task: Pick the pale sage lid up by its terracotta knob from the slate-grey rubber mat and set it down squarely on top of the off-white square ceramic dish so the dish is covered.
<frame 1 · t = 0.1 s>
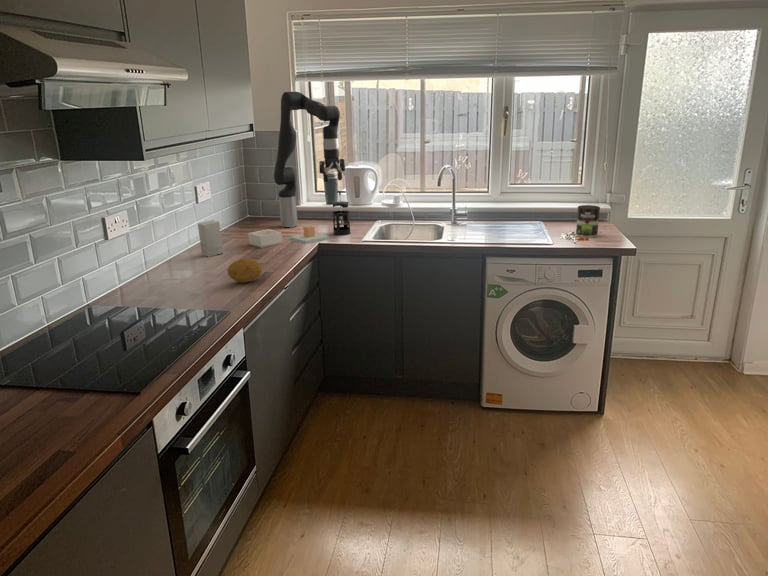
hand: (333, 181, 289), 29 cm above the worktop, tool pointing down, fingers open, 8 cm apart
skincare box: (212, 255, 272), on the worktop
french press: (342, 234, 305), on the worktop
coffee can: (586, 235, 285), on the worktop
mat: (309, 239, 296), on the worktop
lid: (309, 238, 295), resting on mat
potato: (246, 282, 227), on the worktop
dish: (265, 244, 288), on the worktop
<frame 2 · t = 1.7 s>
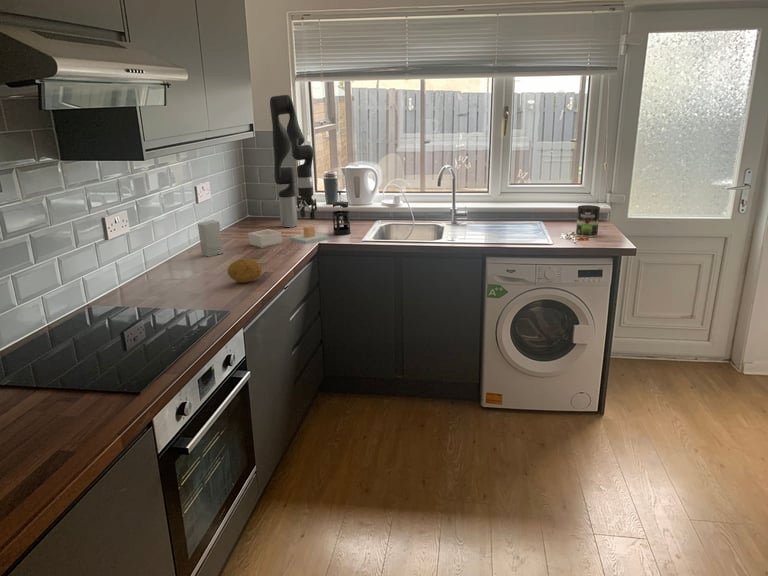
hand: (307, 218, 292), 11 cm above the worktop, tool pointing down, fingers open, 8 cm apart
nothing on the worktop moved.
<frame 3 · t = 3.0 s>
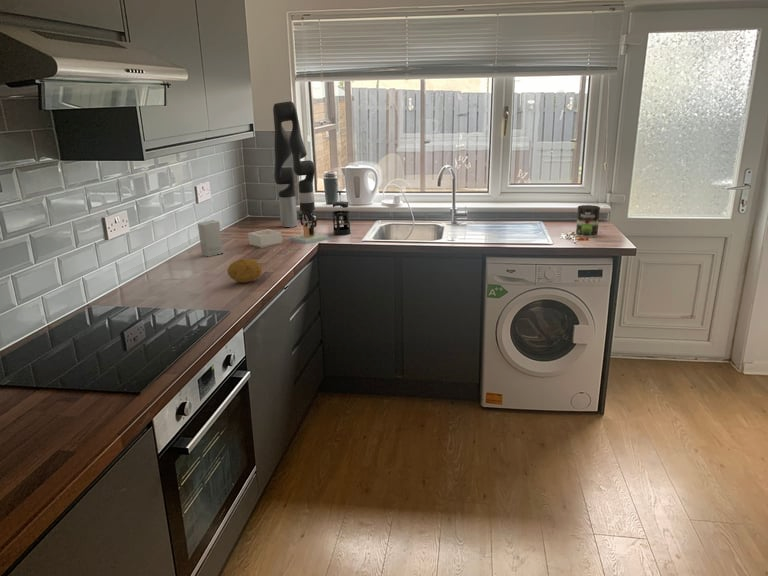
hand: (309, 234, 295), 3 cm above the worktop, tool pointing down, fingers closed on lid, 4 cm apart
lid: (309, 238, 295), point 1 cm above the worktop, touching gripper, mat
everything else where it was.
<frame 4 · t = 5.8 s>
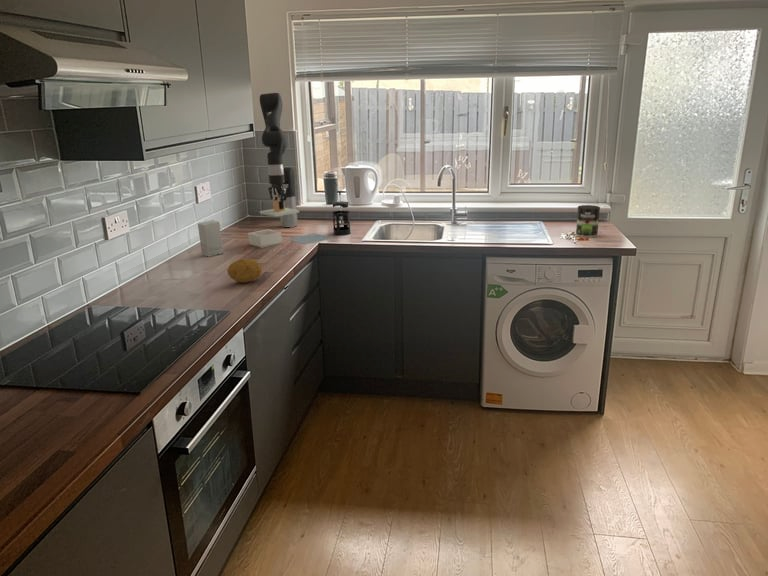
hand: (279, 208, 285), 17 cm above the worktop, tool pointing down, fingers closed on lid, 4 cm apart
lid: (279, 213, 286), point 15 cm above the worktop, touching gripper
everything else where it was.
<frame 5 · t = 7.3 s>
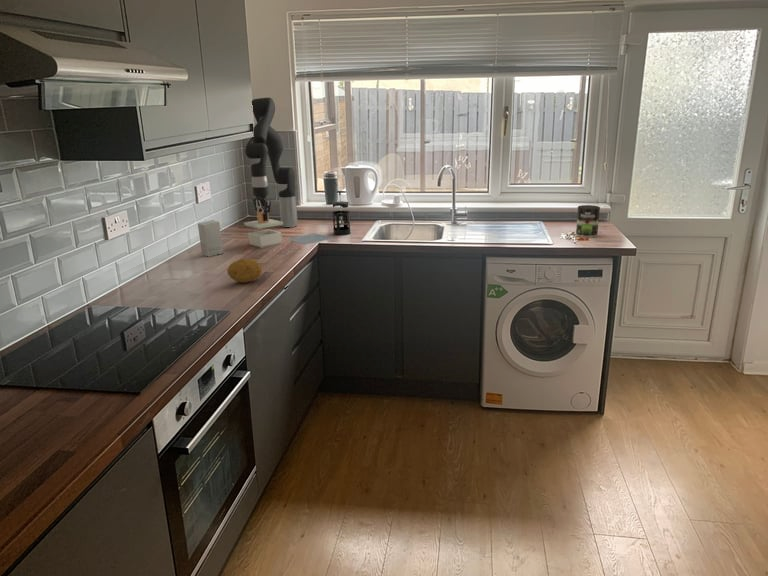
hand: (263, 220, 285), 12 cm above the worktop, tool pointing down, fingers closed on lid, 4 cm apart
lid: (263, 224, 285), point 10 cm above the worktop, touching gripper
everything else where it was.
when the fingers open (10 cm above the worktop, at t = 8.4 s): lid drops 2 cm, resting on dish.
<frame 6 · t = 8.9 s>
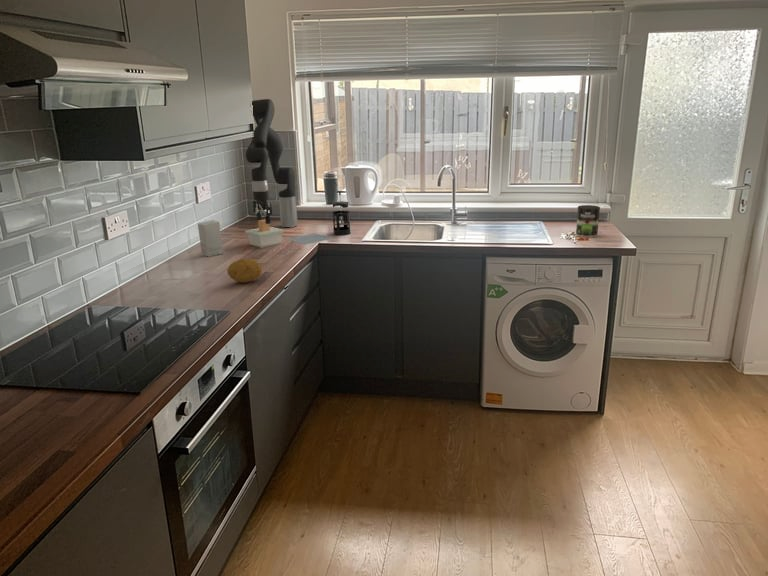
hand: (263, 222, 285), 11 cm above the worktop, tool pointing down, fingers open, 8 cm apart
lid: (264, 232, 287), point 6 cm above the worktop, touching dish
everything else where it was.
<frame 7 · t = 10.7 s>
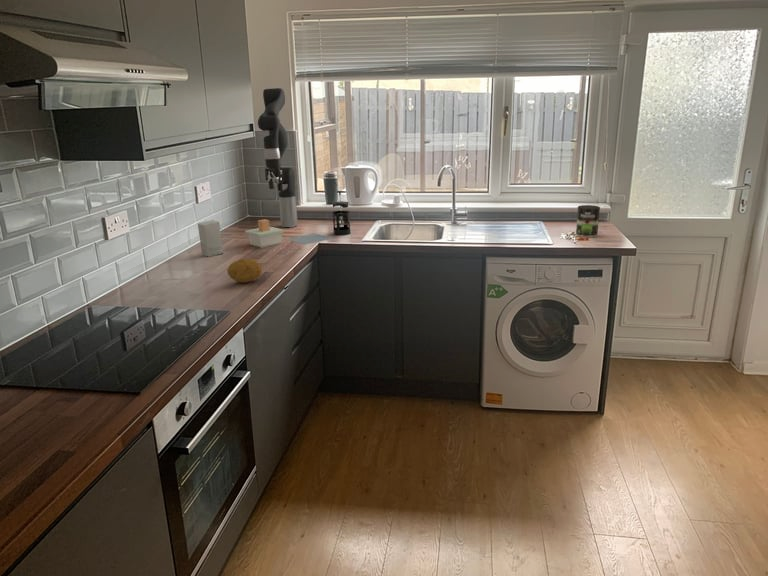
hand: (276, 189, 291), 26 cm above the worktop, tool pointing down, fingers open, 8 cm apart
nothing on the worktop moved.
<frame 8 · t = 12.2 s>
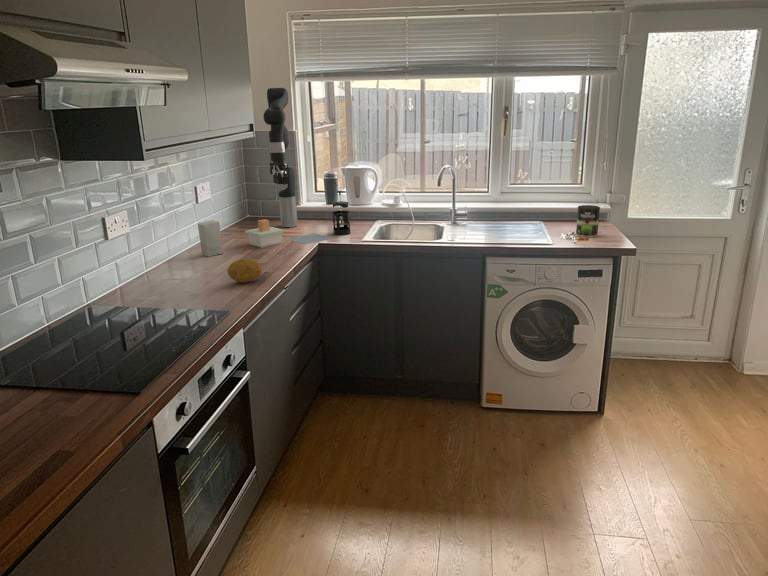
hand: (280, 183, 294), 28 cm above the worktop, tool pointing down, fingers open, 8 cm apart
nothing on the worktop moved.
at the end: lid 0.1 cm off-centre on the dish, point 6.0 cm above the dish's base; lid tilted 0°; the gripper is holding nothing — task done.
